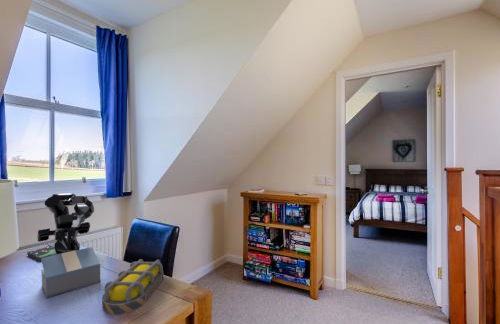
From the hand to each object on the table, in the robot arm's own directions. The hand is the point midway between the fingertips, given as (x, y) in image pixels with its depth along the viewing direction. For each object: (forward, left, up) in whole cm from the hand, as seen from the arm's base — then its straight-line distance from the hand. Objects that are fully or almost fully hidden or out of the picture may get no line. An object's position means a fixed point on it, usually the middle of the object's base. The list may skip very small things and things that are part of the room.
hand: (67, 247), depth 113 cm
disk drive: (-40, -4, -14) cm, 43 cm away
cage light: (+30, +17, -14) cm, 37 cm away
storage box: (+6, 0, -13) cm, 15 cm away
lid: (+6, 0, -5) cm, 8 cm away
